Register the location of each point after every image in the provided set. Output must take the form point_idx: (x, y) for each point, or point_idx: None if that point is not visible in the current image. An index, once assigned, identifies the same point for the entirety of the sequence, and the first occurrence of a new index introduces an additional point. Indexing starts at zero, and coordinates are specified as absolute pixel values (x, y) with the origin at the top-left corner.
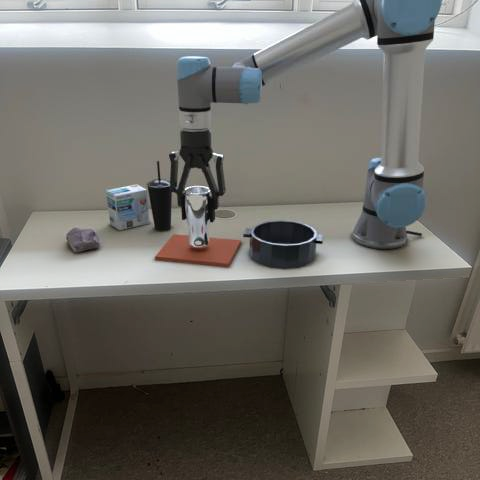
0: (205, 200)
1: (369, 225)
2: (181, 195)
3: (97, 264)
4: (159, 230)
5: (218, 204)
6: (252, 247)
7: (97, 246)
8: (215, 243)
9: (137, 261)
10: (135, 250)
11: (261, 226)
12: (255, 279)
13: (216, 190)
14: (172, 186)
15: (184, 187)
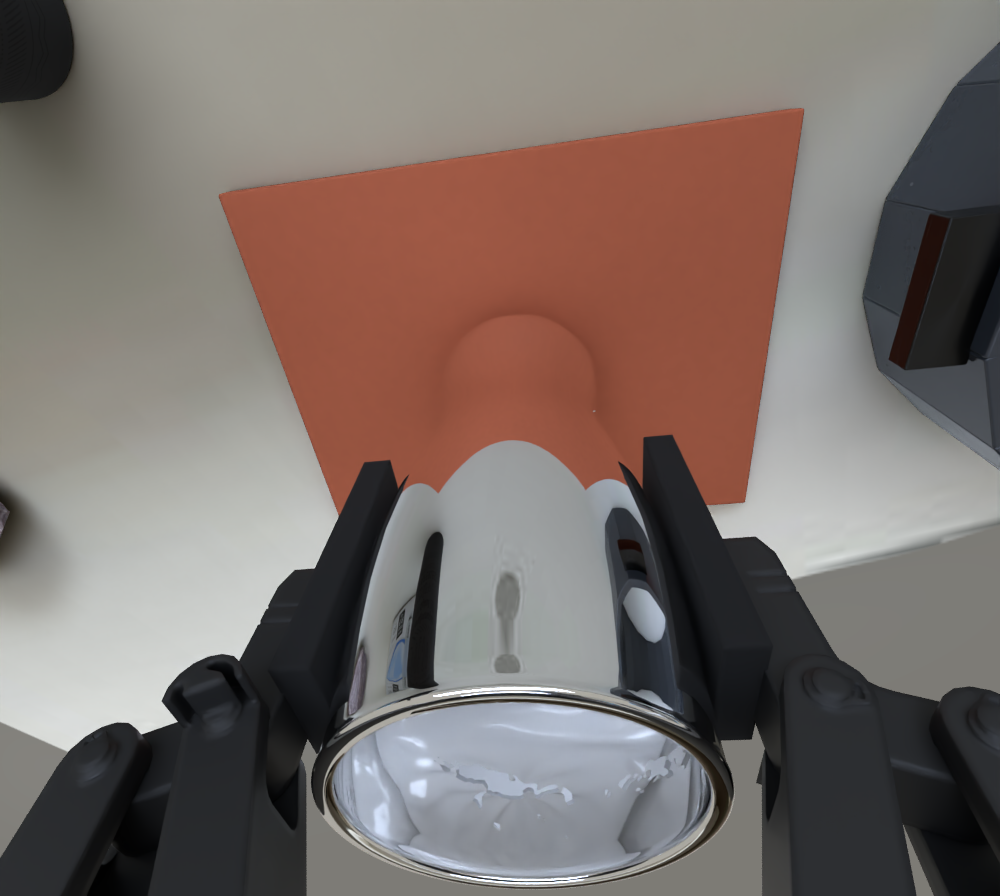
0: (660, 749)
1: None
2: (317, 746)
3: (166, 610)
4: (29, 99)
5: (782, 574)
6: (931, 406)
7: (6, 515)
8: (602, 264)
9: (287, 551)
10: (182, 460)
11: None
12: (882, 555)
13: (854, 756)
14: (146, 891)
15: (261, 777)
